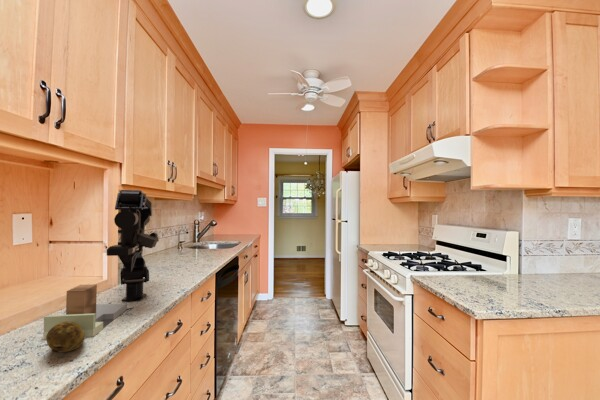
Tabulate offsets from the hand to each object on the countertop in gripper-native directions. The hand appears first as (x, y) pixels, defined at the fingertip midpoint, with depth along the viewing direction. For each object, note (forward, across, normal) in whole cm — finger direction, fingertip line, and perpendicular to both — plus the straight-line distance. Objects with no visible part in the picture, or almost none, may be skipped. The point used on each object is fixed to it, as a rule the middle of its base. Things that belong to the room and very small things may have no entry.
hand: (129, 271), depth 94 cm
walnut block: (+11, -14, +7) cm, 19 cm away
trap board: (+13, -9, +7) cm, 17 cm away
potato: (+13, -26, +3) cm, 29 cm away
